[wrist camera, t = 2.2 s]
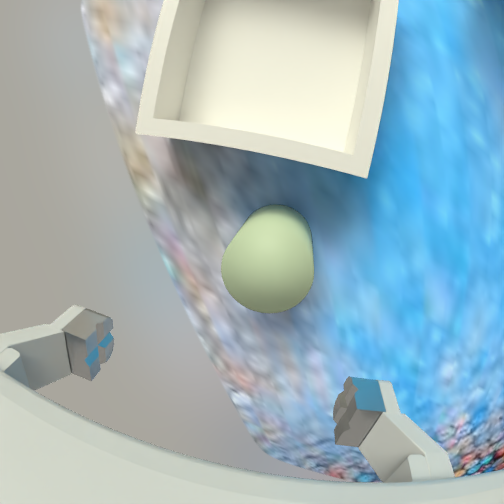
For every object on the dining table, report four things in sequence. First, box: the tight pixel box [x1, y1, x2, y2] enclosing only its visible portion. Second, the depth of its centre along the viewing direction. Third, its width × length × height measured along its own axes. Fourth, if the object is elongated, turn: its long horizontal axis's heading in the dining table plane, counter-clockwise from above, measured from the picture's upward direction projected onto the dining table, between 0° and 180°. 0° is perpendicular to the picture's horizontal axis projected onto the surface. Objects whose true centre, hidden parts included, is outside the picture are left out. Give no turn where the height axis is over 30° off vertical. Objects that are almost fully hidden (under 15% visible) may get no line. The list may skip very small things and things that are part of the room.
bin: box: [135, 0, 398, 178], centre depth 16 cm, size 13×14×5 cm
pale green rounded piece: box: [221, 204, 314, 313], centre depth 20 cm, size 5×5×6 cm
